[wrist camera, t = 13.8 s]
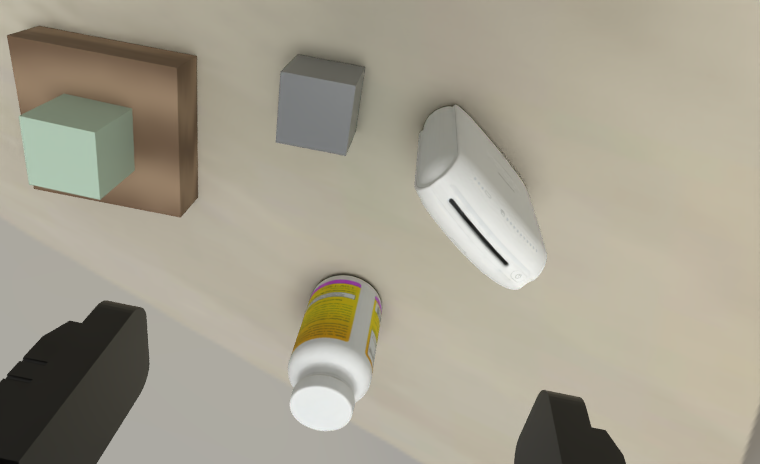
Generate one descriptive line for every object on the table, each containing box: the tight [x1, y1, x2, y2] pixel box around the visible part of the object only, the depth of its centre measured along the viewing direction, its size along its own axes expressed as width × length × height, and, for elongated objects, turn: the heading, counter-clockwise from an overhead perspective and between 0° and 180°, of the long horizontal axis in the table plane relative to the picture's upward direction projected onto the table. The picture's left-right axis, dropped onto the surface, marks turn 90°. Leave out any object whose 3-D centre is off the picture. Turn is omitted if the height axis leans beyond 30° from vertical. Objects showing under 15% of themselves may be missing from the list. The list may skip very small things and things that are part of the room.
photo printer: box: [415, 105, 547, 290], centre depth 38 cm, size 10×4×12 cm, turn 41°
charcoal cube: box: [276, 54, 365, 156], centre depth 40 cm, size 5×5×5 cm
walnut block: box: [7, 26, 198, 217], centre depth 44 cm, size 12×12×4 cm
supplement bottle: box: [288, 275, 382, 431], centre depth 46 cm, size 7×7×13 cm
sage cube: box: [19, 94, 135, 200], centre depth 40 cm, size 5×5×5 cm
